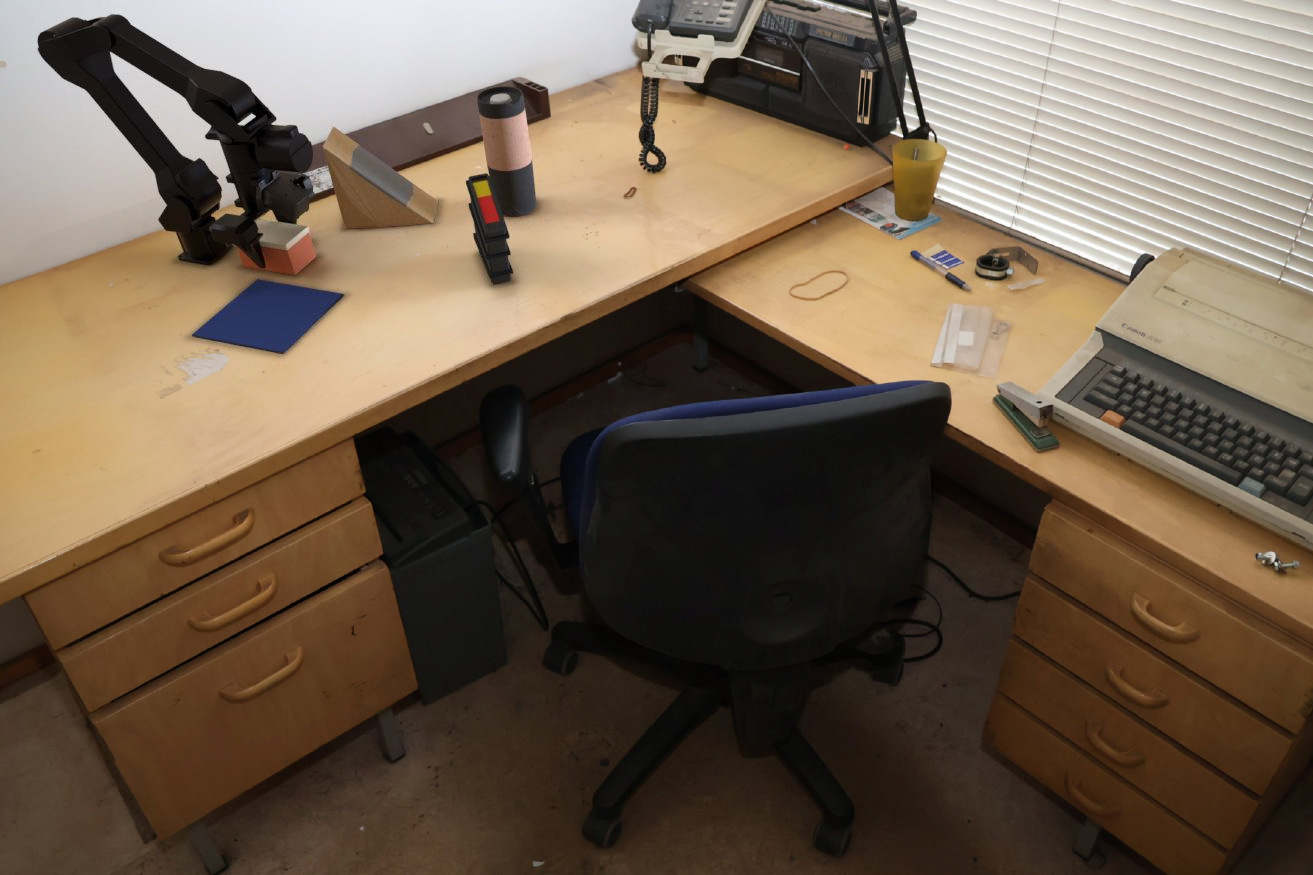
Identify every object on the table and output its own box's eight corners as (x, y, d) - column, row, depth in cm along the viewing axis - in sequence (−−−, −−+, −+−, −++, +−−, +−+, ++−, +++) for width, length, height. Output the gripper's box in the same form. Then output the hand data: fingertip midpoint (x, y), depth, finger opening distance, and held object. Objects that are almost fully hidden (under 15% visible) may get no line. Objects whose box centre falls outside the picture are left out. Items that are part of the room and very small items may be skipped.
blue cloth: (192, 336, 149) (191, 334, 149) (257, 280, 160) (257, 279, 160) (282, 353, 145) (282, 352, 144) (343, 295, 156) (343, 293, 156)
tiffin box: (242, 267, 164) (231, 236, 160) (265, 248, 168) (255, 218, 164) (295, 275, 161) (285, 245, 157) (317, 256, 165) (308, 226, 162)
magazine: (493, 230, 166) (489, 170, 152) (514, 296, 161) (512, 240, 147) (471, 235, 165) (465, 175, 151) (491, 301, 160) (487, 245, 147)
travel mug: (495, 198, 178) (477, 87, 165) (538, 195, 178) (523, 84, 165) (493, 219, 172) (474, 106, 159) (538, 216, 173) (523, 102, 159)
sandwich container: (434, 224, 172) (416, 141, 162) (344, 229, 172) (321, 147, 162) (439, 200, 178) (423, 119, 169) (353, 205, 178) (331, 124, 168)
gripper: (255, 200, 145) (285, 292, 155) (327, 145, 158) (351, 233, 168) (192, 191, 148) (226, 282, 158) (268, 138, 161) (295, 225, 171)
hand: (277, 255), depth 164 cm, fingers open, 8 cm apart
